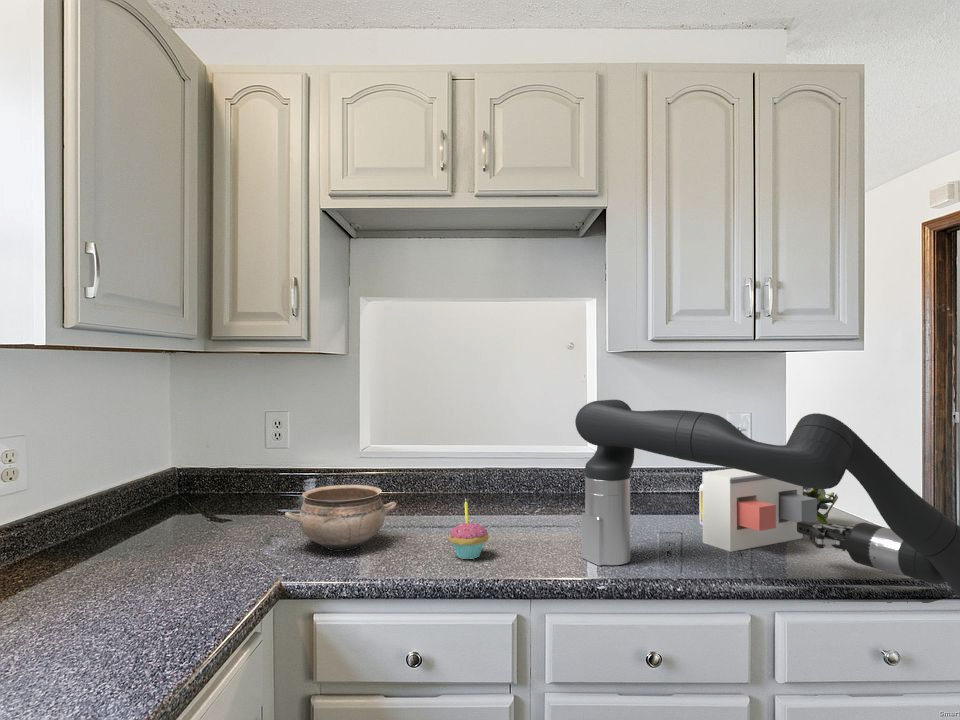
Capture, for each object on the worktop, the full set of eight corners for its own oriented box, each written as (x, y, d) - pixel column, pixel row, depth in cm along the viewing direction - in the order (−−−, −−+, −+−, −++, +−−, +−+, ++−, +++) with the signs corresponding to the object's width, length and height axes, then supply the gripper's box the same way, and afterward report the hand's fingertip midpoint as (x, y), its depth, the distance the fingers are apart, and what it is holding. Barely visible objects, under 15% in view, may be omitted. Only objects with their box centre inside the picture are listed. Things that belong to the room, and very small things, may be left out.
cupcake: (443, 553, 143) (443, 498, 143) (480, 549, 146) (480, 494, 146) (456, 565, 135) (456, 506, 135) (495, 560, 138) (494, 502, 138)
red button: (759, 531, 139) (759, 507, 139) (736, 524, 144) (736, 501, 144) (776, 528, 141) (775, 504, 141) (753, 521, 146) (753, 499, 146)
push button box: (731, 552, 142) (731, 478, 142) (702, 542, 150) (702, 472, 150) (804, 538, 153) (803, 469, 153) (773, 530, 160) (773, 464, 160)
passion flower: (802, 546, 167) (821, 500, 171) (839, 551, 156) (858, 501, 160) (763, 520, 166) (783, 473, 170) (797, 522, 154) (818, 473, 158)
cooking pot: (385, 530, 162) (385, 480, 162) (408, 550, 145) (408, 495, 145) (280, 542, 153) (279, 489, 152) (291, 566, 135) (290, 506, 135)
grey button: (801, 523, 145) (801, 500, 145) (778, 517, 150) (778, 495, 150) (816, 521, 147) (816, 498, 147) (793, 515, 152) (793, 493, 152)
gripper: (860, 575, 115) (776, 549, 130) (907, 564, 121) (821, 540, 136) (860, 532, 115) (776, 511, 130) (907, 523, 121) (821, 504, 136)
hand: (799, 526), depth 133 cm, fingers closed
